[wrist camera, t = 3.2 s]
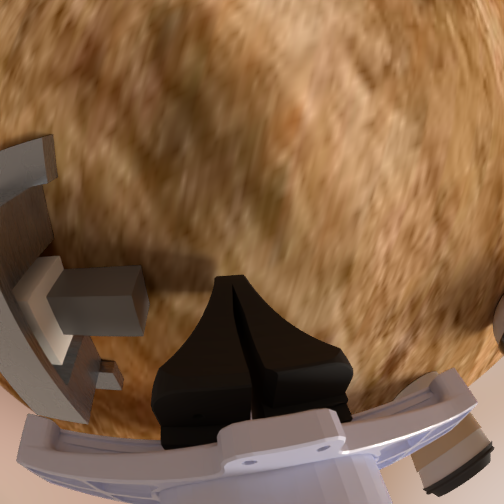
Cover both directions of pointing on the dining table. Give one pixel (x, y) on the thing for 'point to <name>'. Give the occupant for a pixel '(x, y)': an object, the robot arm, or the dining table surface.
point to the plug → (80, 303)
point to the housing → (8, 311)
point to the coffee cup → (450, 450)
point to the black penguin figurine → (499, 325)
